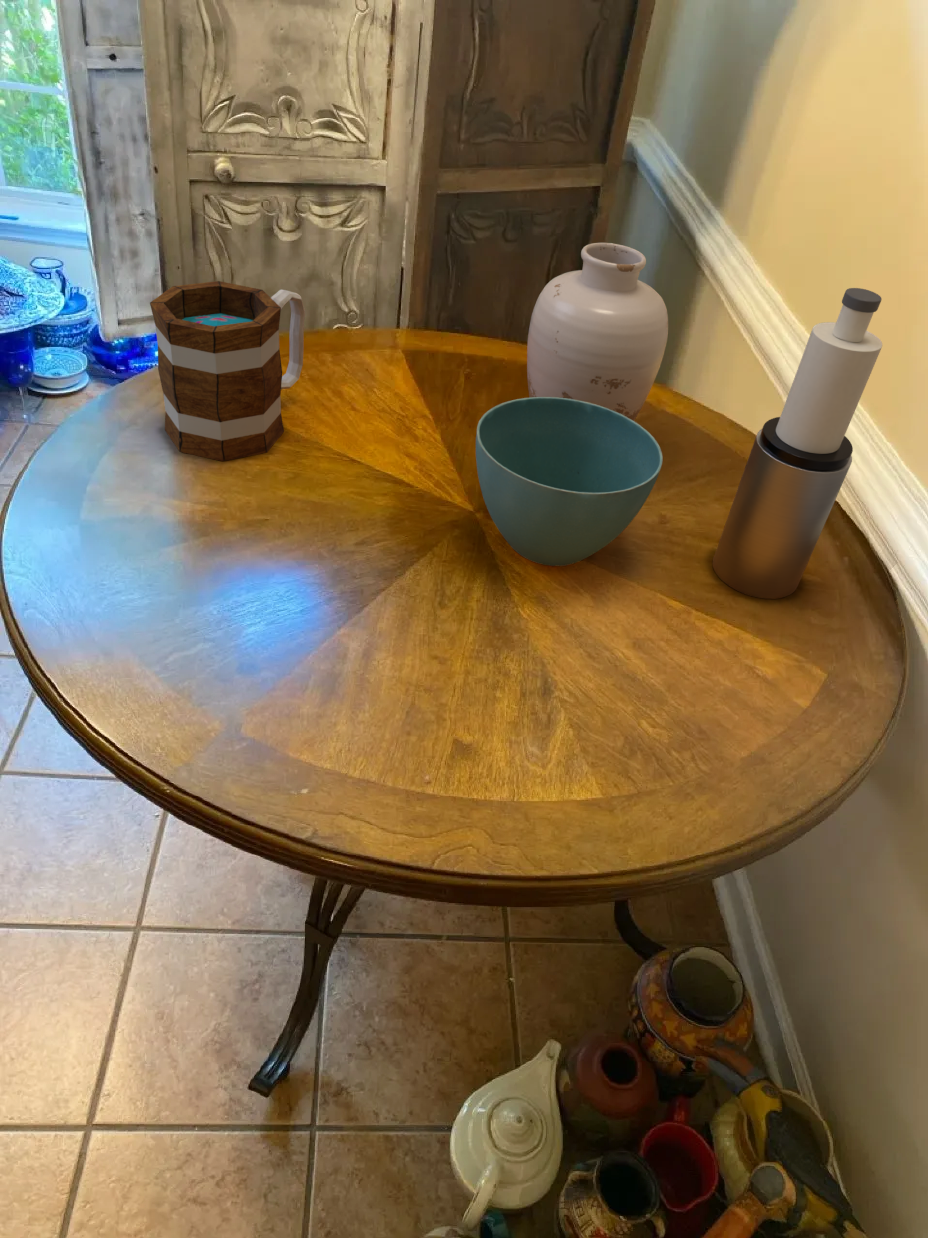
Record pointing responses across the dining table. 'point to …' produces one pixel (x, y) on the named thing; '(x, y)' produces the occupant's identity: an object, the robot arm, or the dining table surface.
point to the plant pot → (563, 475)
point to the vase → (598, 332)
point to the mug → (225, 366)
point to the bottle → (831, 377)
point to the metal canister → (778, 514)
